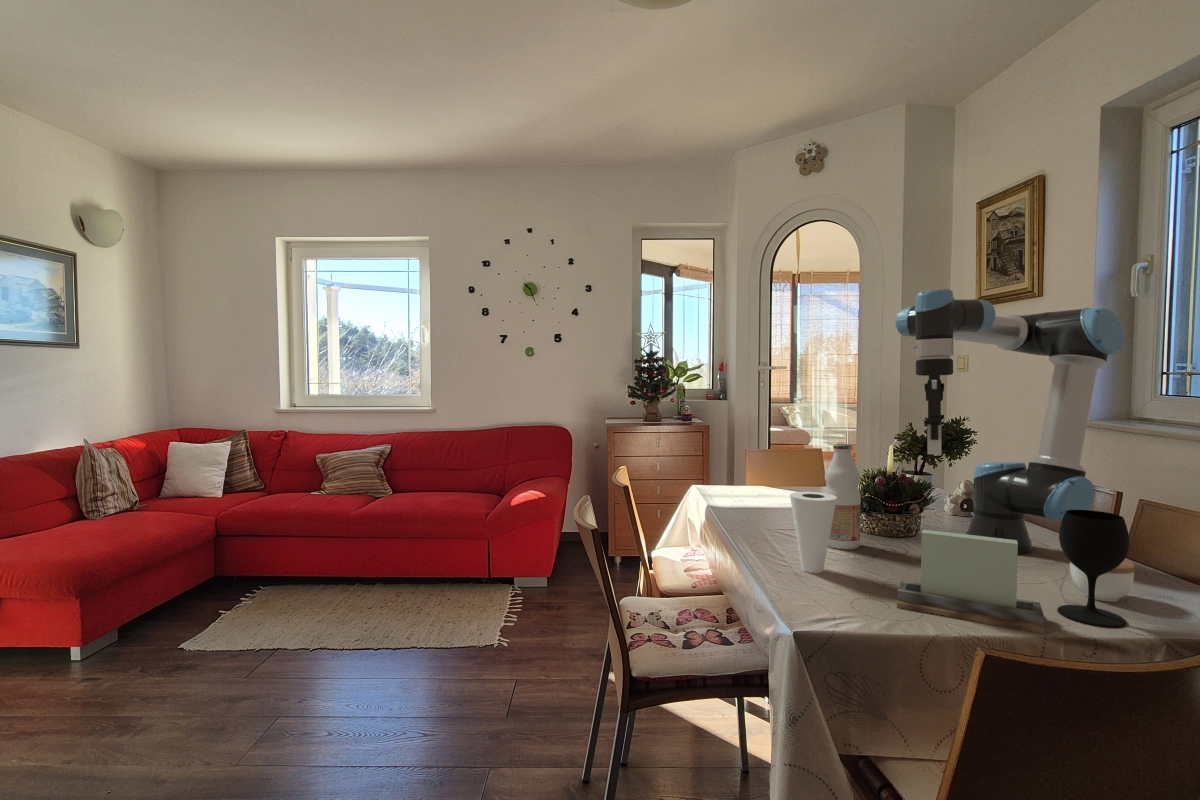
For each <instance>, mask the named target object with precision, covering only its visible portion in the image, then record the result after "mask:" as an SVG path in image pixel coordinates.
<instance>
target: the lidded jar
mask: <svg viewBox="0 0 1200 800" xmlns="http://www.w3.org/2000/svg"><path fill="white" fill-rule="evenodd" d="M1068 560H1069V559H1068ZM1135 571H1136V565H1135V564H1134V563H1133V562H1131V561H1129V560H1126V559H1124V561H1123V562H1122V563H1121V564H1120V565H1119V566H1118V567H1116V568H1115V569H1113V570H1111V571H1110V572H1107V573H1105V574H1103V575H1100V576H1099V577H1098V578H1097V580H1096V585H1095V601H1101V602H1109V603H1112V602H1113V603H1114V602H1119V601H1120V599H1122V598H1124V597H1125V596H1127V595H1128V594H1129V593H1130V592H1131V590H1132V588H1133V585H1134V580H1135ZM1069 575H1070V578H1071V581H1072V583H1073V584H1074V586H1075V587H1076V588H1077V589H1078V591H1080V592H1081V594H1082V595H1083V596H1084V597H1086V598H1088V579H1087V576H1086V574H1085V573H1084V572H1082V571H1081V570H1080V569H1078V568H1077V567H1076V566H1075V565H1074V564H1072V563H1071V562H1070V560H1069Z"/></svg>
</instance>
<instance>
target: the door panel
mask: <svg viewBox="0 0 1200 800" xmlns="http://www.w3.org/2000/svg"><path fill="white" fill-rule="evenodd" d="M920 547H921V551H920V553H921V554H920V555H921V556H920V557H921V558H920V559H921V560H920V584H921V593H927V594H933V595H939V596H945V597H951V598H957V599H963V600H970V601H976V602H982V603H988V604H994V605H1000V606H1006V607H1012V608H1016V599H1018V598H1017V592H1018V590H1017V587H1018V554H1019V553H1018V543H1017V540H1010V539H1001V538H993V537H984V536H975V535H967V534H966V533H957V532H948V531H940V530H930V529H922V531H921V545H920Z"/></svg>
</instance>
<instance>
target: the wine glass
mask: <svg viewBox="0 0 1200 800" xmlns="http://www.w3.org/2000/svg"><path fill="white" fill-rule="evenodd" d="M1060 522H1061V523H1060V526H1059V532H1058V538H1059V540H1058V541H1059V545H1060V547H1061V550H1062V552H1063V554H1064V556H1065V557H1066V558H1067V559H1068V560H1070V561H1069V563H1070V562H1071V563H1072V564H1074V565H1075V566H1076V567H1077V568H1078V569H1080V570H1081V571H1082V572H1084V573H1085V574H1086V576H1087V579H1088V597H1087V602H1086V603H1087V604H1086V605H1082V604H1081V605H1080V604H1079V605H1078V604H1064V605H1059V607H1058V608H1057V613H1058V614H1059V615H1060V616H1061V617H1064V618H1066V619H1068V620H1071V621H1074V622H1075V623H1079V622H1080V624H1083V625H1087V624H1088V626H1093V627H1097V626H1098V628H1105V629H1106V628H1107V629H1108V628H1109V629H1110V628H1111V629H1112V628H1113V629H1116V628H1117V629H1119V628H1123V627H1125V626H1126V625H1127V621H1126V619H1125V618H1123V617H1122V616H1120V615H1119V614H1116V613H1114V612H1111V611H1109V610H1105V609H1101V608H1097V606H1096V600H1095V585H1096V580H1097V578H1098V577H1099V576H1100V575H1103V574H1105V573H1107V572H1110V571H1111V570H1113V569H1115V568H1116V567H1118V566H1119V565H1120V564H1121V563H1122V562H1123V561H1124V560H1126V557H1127V555H1128V552H1129V549H1130V536H1129V530H1128V527H1127V524H1126V520H1125V518H1124V517H1123V516H1122V515H1119V514H1115V513H1112V512H1105V511H1099V510H1092V509H1091V510H1067V511H1065V514H1064V516H1063V519H1062V521H1060Z"/></svg>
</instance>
